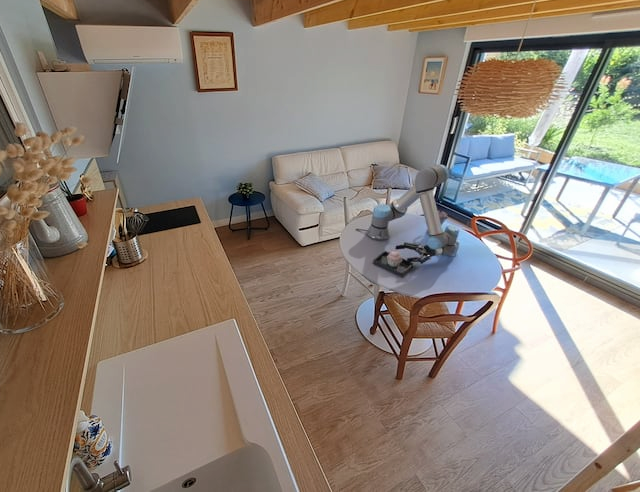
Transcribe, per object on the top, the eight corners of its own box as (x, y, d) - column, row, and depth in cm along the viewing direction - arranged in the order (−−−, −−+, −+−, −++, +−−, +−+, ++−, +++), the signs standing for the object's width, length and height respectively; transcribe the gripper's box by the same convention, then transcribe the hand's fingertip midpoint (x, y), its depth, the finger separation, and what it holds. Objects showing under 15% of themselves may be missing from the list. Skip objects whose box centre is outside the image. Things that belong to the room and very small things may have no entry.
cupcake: (397, 259, 185) (400, 246, 180) (403, 268, 177) (406, 255, 172) (383, 259, 185) (385, 247, 180) (388, 269, 177) (391, 256, 172)
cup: (451, 258, 187) (455, 246, 183) (437, 250, 194) (441, 239, 190) (457, 254, 191) (461, 243, 186) (443, 247, 198) (447, 236, 193)
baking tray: (373, 263, 183) (373, 260, 182) (384, 254, 192) (384, 250, 190) (402, 277, 171) (403, 274, 169) (412, 266, 180) (413, 263, 178)
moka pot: (437, 239, 207) (444, 215, 197) (419, 229, 219) (425, 206, 209) (445, 236, 211) (453, 212, 201) (427, 226, 222) (434, 203, 213)
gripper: (443, 267, 172) (411, 271, 169) (419, 244, 193) (390, 247, 190) (446, 257, 168) (413, 261, 165) (422, 235, 189) (392, 238, 187)
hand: (401, 253), depth 178 cm, fingers open, 13 cm apart
